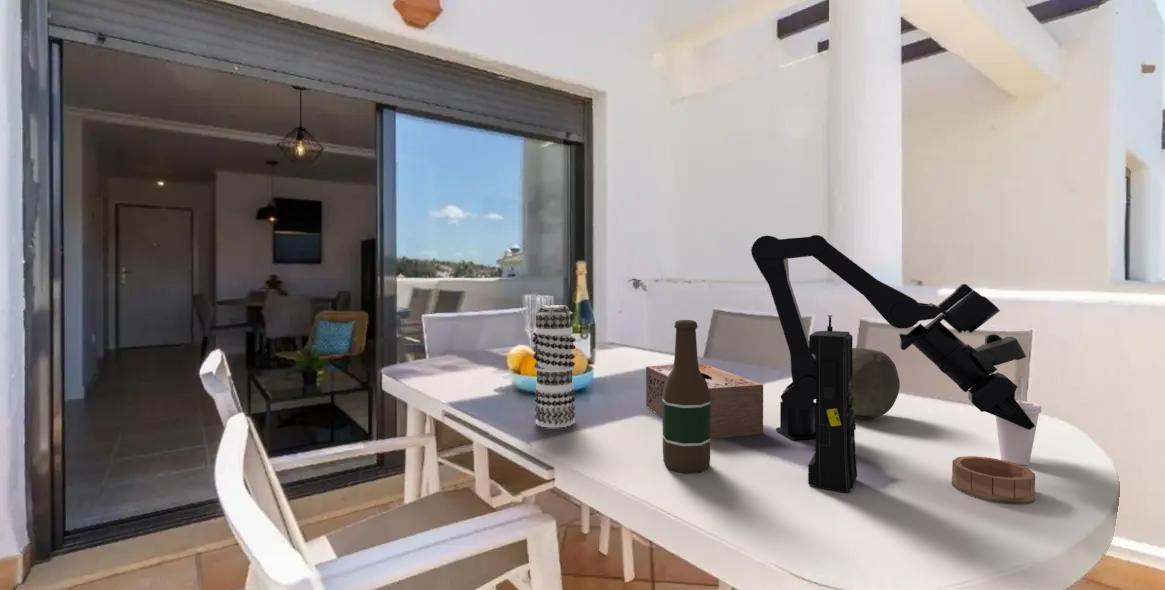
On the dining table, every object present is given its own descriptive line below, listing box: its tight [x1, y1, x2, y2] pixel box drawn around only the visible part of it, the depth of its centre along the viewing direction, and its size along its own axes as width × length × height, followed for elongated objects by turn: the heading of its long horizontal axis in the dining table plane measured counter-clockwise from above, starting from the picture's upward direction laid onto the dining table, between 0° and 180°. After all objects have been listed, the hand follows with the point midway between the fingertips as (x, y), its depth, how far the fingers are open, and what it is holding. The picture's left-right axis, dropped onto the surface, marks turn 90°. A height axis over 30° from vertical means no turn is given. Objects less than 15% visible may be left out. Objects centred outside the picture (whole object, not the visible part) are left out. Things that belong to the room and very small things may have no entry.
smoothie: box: [994, 376, 1043, 466], centre depth 89 cm, size 6×6×14 cm
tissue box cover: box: [645, 362, 764, 440], centre depth 116 cm, size 26×14×10 cm, turn 14°
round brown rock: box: [850, 347, 901, 421], centre depth 116 cm, size 14×14×15 cm
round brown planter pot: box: [951, 455, 1036, 505], centre depth 77 cm, size 10×10×3 cm
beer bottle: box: [662, 319, 711, 474], centre depth 88 cm, size 8×8×24 cm
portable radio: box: [807, 314, 858, 494], centre depth 80 cm, size 8×6×25 cm
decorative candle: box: [531, 304, 576, 428], centre depth 114 cm, size 9×9×25 cm
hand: (1026, 422), depth 88 cm, fingers closed on smoothie, 6 cm apart
